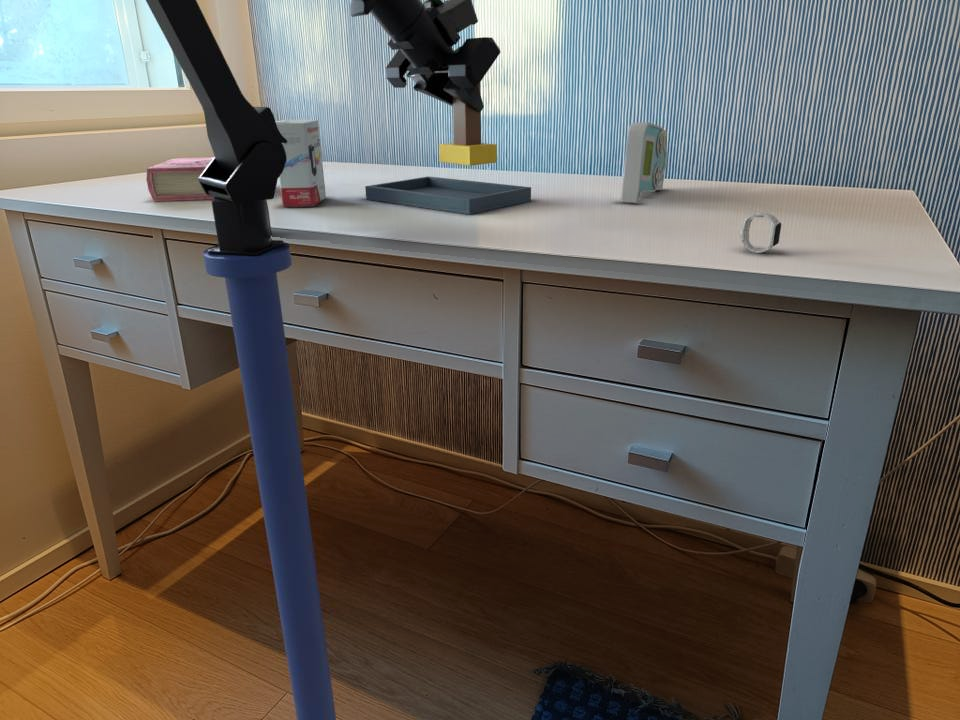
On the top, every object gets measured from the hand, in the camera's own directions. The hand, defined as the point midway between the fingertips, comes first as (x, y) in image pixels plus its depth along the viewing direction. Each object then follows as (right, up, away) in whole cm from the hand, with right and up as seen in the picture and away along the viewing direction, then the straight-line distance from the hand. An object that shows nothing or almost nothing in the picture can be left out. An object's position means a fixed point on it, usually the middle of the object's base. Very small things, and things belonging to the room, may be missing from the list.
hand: (474, 109), depth 96 cm
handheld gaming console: (+26, -10, +8) cm, 29 cm away
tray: (-4, -11, +7) cm, 14 cm away
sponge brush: (-1, -7, +2) cm, 7 cm away
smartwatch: (+30, -24, -26) cm, 46 cm away
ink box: (-26, -12, +8) cm, 29 cm away
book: (-44, -7, +18) cm, 49 cm away
